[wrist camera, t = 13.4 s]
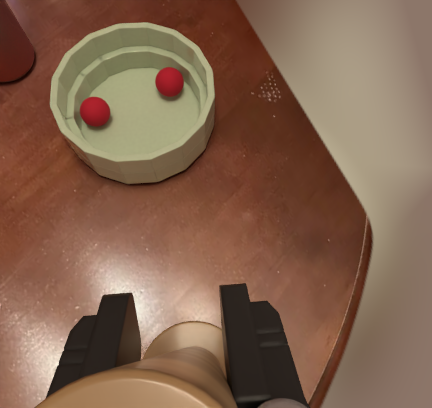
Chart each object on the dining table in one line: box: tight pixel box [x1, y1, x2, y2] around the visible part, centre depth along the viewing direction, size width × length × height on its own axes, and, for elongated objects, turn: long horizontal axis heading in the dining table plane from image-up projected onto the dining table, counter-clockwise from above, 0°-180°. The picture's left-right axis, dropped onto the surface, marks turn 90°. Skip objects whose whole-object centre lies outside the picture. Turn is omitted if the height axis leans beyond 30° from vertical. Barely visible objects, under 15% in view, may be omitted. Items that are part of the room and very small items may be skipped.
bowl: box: [50, 22, 215, 184], centre depth 37 cm, size 14×14×6 cm
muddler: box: [35, 321, 238, 408], centre depth 10 cm, size 4×4×15 cm
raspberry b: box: [155, 67, 184, 97], centre depth 39 cm, size 3×3×3 cm
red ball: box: [80, 97, 110, 127], centre depth 38 cm, size 3×3×3 cm
